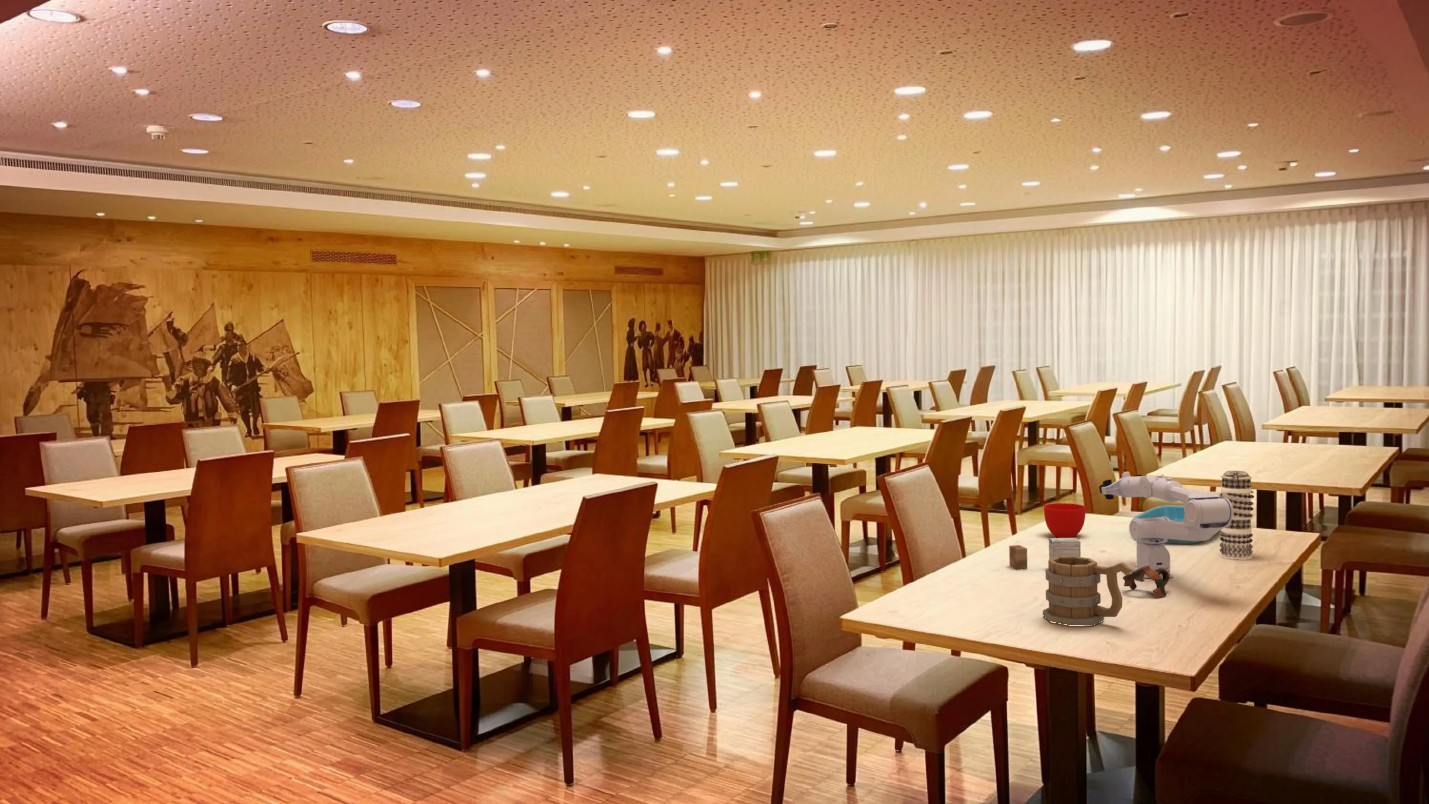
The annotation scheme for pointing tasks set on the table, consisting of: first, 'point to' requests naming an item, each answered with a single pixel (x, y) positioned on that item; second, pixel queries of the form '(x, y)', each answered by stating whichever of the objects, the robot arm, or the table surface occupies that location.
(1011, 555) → the walnut block
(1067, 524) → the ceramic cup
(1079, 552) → the medicine box
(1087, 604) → the tankard
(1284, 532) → the table surface
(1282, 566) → the table surface
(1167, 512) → the casserole dish
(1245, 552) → the decorative candle
